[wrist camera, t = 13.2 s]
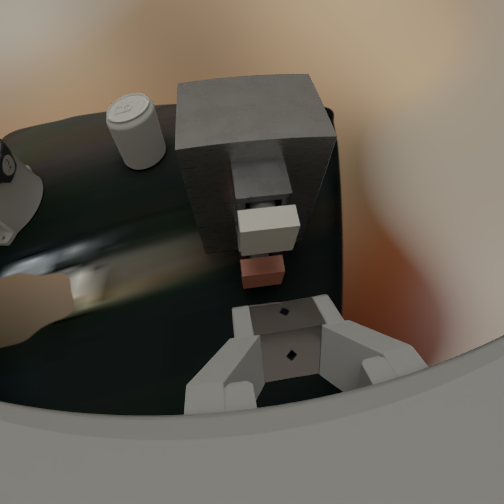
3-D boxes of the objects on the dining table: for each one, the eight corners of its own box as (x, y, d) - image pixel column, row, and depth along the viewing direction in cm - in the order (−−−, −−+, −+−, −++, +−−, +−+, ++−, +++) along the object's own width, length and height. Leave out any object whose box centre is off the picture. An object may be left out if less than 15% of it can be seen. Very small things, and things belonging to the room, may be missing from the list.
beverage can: (166, 167, 51) (150, 117, 40) (123, 175, 50) (99, 129, 39) (166, 135, 54) (153, 86, 43) (126, 143, 53) (107, 97, 42)
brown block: (243, 288, 39) (242, 276, 34) (237, 248, 41) (236, 231, 37) (280, 283, 39) (285, 271, 35) (273, 243, 41) (276, 226, 37)
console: (208, 279, 43) (174, 188, 23) (201, 195, 48) (177, 83, 28) (306, 267, 44) (350, 171, 24) (288, 186, 49) (308, 74, 29)
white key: (241, 256, 29) (240, 232, 24) (234, 204, 31) (232, 175, 26) (292, 249, 29) (300, 225, 24) (281, 199, 31) (286, 170, 27)
